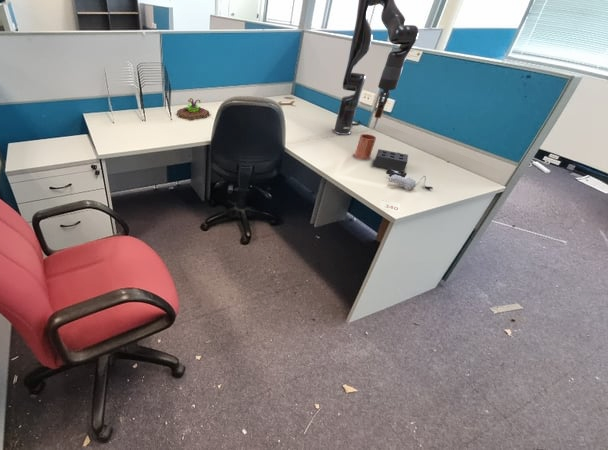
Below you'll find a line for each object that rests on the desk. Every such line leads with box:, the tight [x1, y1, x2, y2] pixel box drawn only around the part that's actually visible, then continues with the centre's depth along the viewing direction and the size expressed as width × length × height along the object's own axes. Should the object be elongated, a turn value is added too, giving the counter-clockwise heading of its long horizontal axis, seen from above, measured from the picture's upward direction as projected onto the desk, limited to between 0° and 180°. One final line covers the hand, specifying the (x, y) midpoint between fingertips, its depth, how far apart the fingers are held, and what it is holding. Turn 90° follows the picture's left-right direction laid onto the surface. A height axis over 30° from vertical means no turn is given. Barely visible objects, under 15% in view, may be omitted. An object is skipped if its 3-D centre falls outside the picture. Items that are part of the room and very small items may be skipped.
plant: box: [176, 97, 210, 121], centre depth 219 cm, size 20×20×11 cm
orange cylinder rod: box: [372, 104, 386, 130], centre depth 157 cm, size 3×3×12 cm
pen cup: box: [354, 133, 377, 161], centre depth 167 cm, size 7×7×11 cm
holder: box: [372, 148, 409, 172], centre depth 160 cm, size 10×13×6 cm
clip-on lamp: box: [385, 169, 434, 191], centre depth 145 cm, size 12×6×18 cm
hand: (377, 115), depth 157 cm, fingers closed on orange cylinder rod, 3 cm apart
